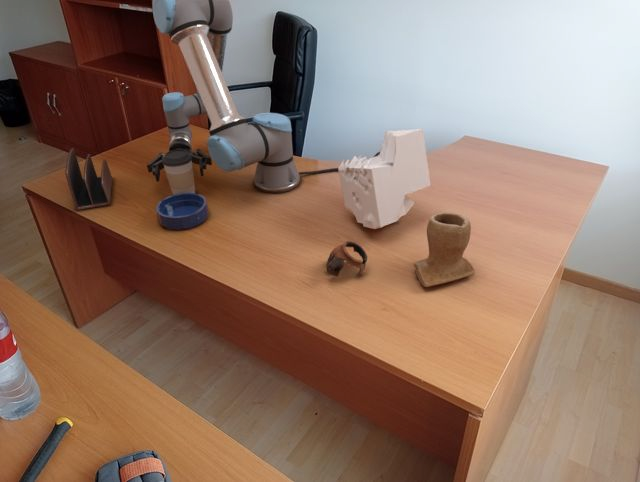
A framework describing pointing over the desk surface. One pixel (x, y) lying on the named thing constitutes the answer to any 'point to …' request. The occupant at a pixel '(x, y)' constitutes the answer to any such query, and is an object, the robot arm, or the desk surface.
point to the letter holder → (88, 183)
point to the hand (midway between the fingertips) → (179, 175)
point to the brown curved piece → (345, 258)
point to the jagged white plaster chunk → (385, 179)
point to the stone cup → (445, 250)
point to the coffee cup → (179, 171)
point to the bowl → (182, 211)
